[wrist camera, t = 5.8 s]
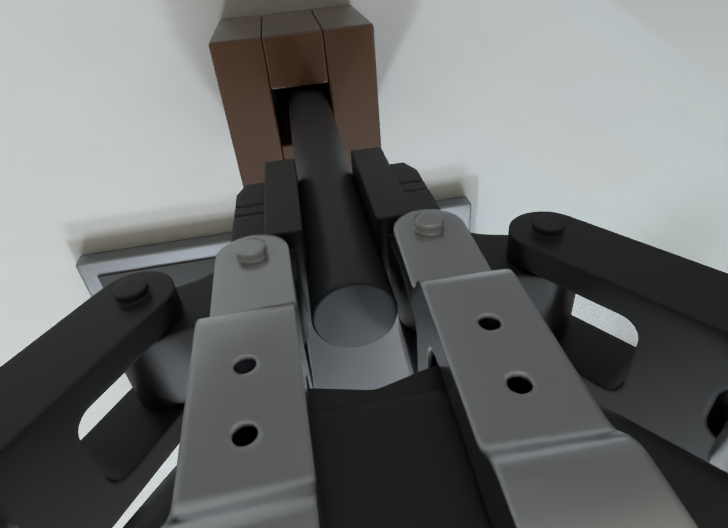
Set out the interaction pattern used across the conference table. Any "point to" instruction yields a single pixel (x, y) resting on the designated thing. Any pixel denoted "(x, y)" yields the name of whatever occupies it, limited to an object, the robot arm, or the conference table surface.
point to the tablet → (328, 362)
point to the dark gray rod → (336, 231)
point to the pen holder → (294, 79)
